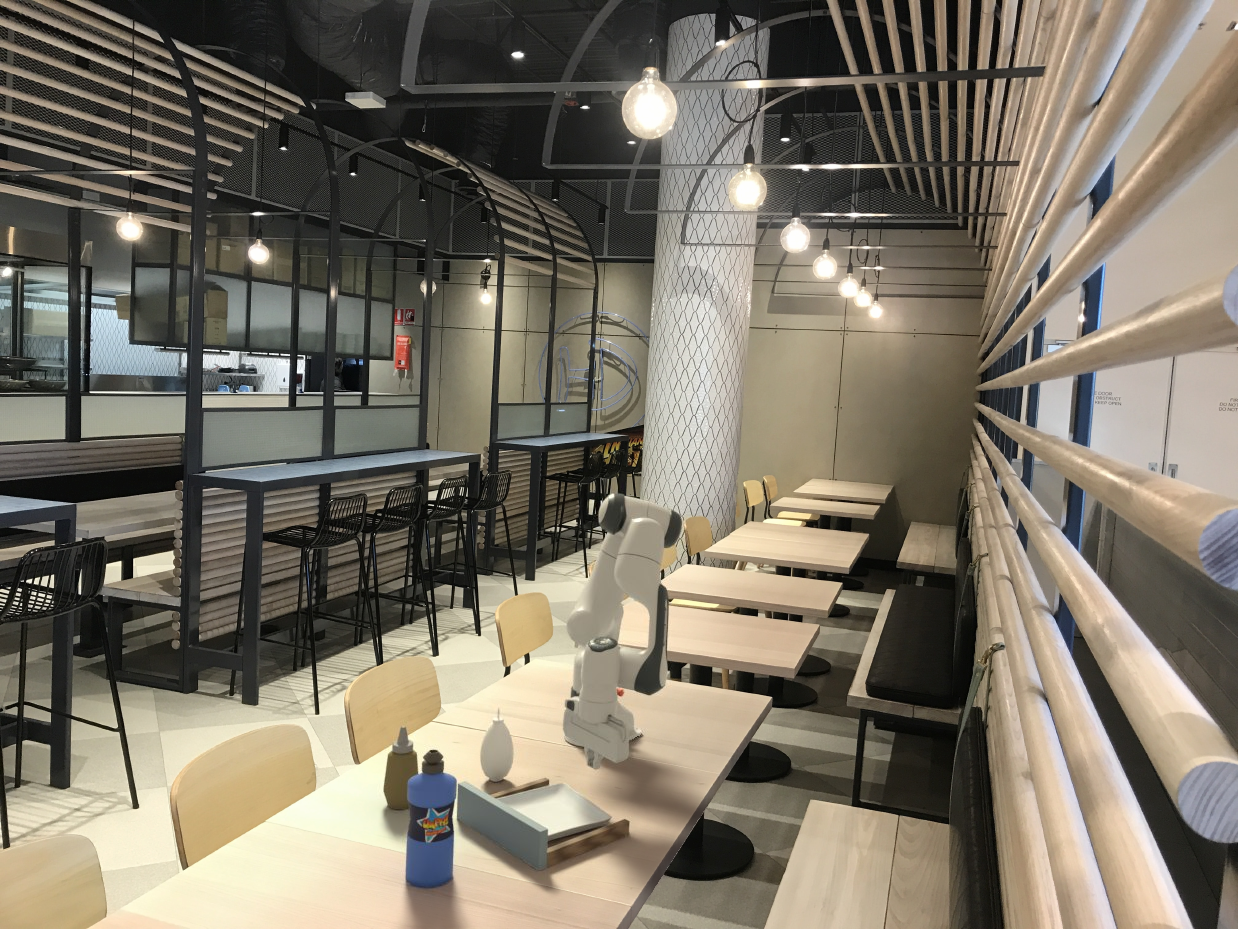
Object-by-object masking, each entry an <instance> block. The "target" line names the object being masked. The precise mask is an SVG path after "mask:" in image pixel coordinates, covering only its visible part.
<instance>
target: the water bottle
mask: <svg viewBox="0 0 1238 929" xmlns="http://www.w3.org/2000/svg"><path fill="white" fill-rule="evenodd" d="M422 759H423V761H421V773H418V775H415V776H413V777H411V778H410V779H409V780H408V790H407V799H408V804H409V808H408V813H409V815H408V816H409V822H408V827H407V832H406V849H405V850H406V851H405V853H406V854H405V880H406V883H408V884H409V885H410V886H412V887H416V888H420V889H433V888H438V887H441V886H444V885H446V884H448V883H449V882H451V880H452V879H453V875H454V874H453V872H454V852H455V851H454V848H455V847H454V846H455V829H454V819H453V817H454V816H453V815H454V811H455V810H454V809H455V802H456V799H457V792H458V780H457V778H456V777H455V776H454V775H452V774H450V773H446V772H444V771H445V761H444V760H443V759H444V755H443V754H442V753H441V751H439V750H438V749H430V750H428V751H427V752H426V753H425V754H424V755H423V756H422Z"/></svg>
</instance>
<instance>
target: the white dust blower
mask: <svg viewBox="0 0 1238 929" xmlns="http://www.w3.org/2000/svg"><path fill="white" fill-rule="evenodd" d="M509 730H510V729H509V728H508V726H507V724H506V723H505V720H504V718H502V717H500V707H499V708H497V717H493V719H492V722H491V723H490V724H489V726H488V727H487V730H486V731H485V734H484V736H483V738H482V741H481V746H480V755H479V756H480V757H479V758H480V766H481V770H482V771H483V774H484V776H486V777H487V778H488V779H489V780H490V781H492V782H496V783H498V782H500V781H502V780H503V779H504V778H506V777H507V776H508V775H509V773H510V771H511V769H512V766H513V763H514V755H515V754H514V744H513V739H512V734H511V733H510V731H509Z"/></svg>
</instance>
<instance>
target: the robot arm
mask: <svg viewBox="0 0 1238 929" xmlns="http://www.w3.org/2000/svg"><path fill="white" fill-rule="evenodd" d="M598 525H599V526H600V528H601V529H602V530H604V531H605V532H607V533H606V534H605V537H604V538H603V540H602V544H601V546H600V548H599V552H598V554H597V557H596V559H595V562H594V565H593V567H592V570H591V573H590V575H589V578H588V579H587V581H586V583H585V585H584V587H583V588H582V590H581V592H580V595H579V596H578V598H577V601H576V603H575V605H574V608H573V609H572V611H571V613H570V614H569V617H568V618H567V621H566V633H567V634H568V636H569V639H570V640H571V641H573V642H574V643H575V644H578V646H577V650H576V653H575V655H574V658H573V659H574V660H573V674H572V686H571V688H570V698H566V699H565V700H564V707H565V710H564V713H563V720H562V722H563V723H562V731H563V733H564V740H565V741H566V742H567V743H570V744H572V745H574V746H578V747H582V748H583V750H584V754H585V757H586V766H588V767H590V768H592V769H593V770H595V771H596V770H599V769H600V768H601V762H602V760H603V758H606V759H608V760H610V761H611V762H612V763H616V764H617V763H622V762H624V761H626V760H627V759H628V758H629V757H630V756H629V753H630V745H629V744H630V741H629V740H631V741H633V740H635V739H636V738H635V737H637V736H639V737H641V736H642V735H643V730H642V729H641V728H639V727H638V726H637V725H635V718H634V714H633V713H632V712H633V711H631V710H630V708H628V707H627V706H626V705H625V704H622V702H620V701H619V700H618V699H619V697H624V695H625V690H628V691H629V690H630V691H634V692H636V693H640V694H643V695H645V696H649V697H650V696H653V695H654V694H656V693H658V692H660V691H661V690H662V689H664V687H665V686H666V684H667V679H668V637H669V634H668V633H669V613H670V609H669V608H670V603H669V601H670V600H669V598H670V597H669V593H668V588H667V587H666V586H665V585H664V584H663V583H662V581H661V567H662V562H663V557H664V550H665V549H669V548H671V547H674V545H676V543H677V542H678V540H679V538H680V536H681V535H682V534H681V533H682V530H683V529H682V528H683V519H682V517H681V514H680V513H679V512H677V511H675V510H673V509H671V508H668V507H667V508H666V507H665V506H662V505H660V504H658V503H657V502H653V501H650V500H645V499H641V498H637V497H632V496H627V495H625V494H624V493H617V492H616V493H615V492H614V493H613V492H612V493H610V494H608V495H607V496H606V497H605V499H604V500H603V501H602V503H601V504H600V506H599V510H598ZM626 596H628V597H629V598H631V599H633V600H635V601H636V602H638V603H639V604H641V605H642V606H644V607H645V608H646V609H647V611H648V615H649V620H648V622H649V623H648V637H647V638H648V642H647V644H648V645H647V648H645V649H640V648H633V647H629V646H624V645H619V639H620V633H621V626H622V621H623V618H624V611H625V610H624V607H623V603H622V602H623V601H624V598H625V597H626ZM641 734H642V735H641ZM640 735H641V736H640ZM634 738H635V739H634ZM637 738H638V737H637ZM632 739H633V740H632Z"/></svg>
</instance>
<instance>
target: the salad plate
mask: <svg viewBox="0 0 1238 929" xmlns="http://www.w3.org/2000/svg"><path fill="white" fill-rule="evenodd" d="M497 800H499V801H501V802H502V803H504V804H506V805H508V806H509V807H511V808H513V809H514V810H516V811H518V812H520V813H521V814H523V815H525V816H527V817H528V818H530V819H532V820H533V821H535V822H537V823H539V824H540V825H542V826H544V827H546V828H547V829H548V842H550V841H553V840H557V839H560V838H564V837H568V836H571V835H575V834H578V833H581V832H585V831H587V830H588V831H589V830H593V829H596V828H599V827H603V826H604V825H605V824H608V822H610V821H611V819H612V816H611V815H610V814H609V813H607V812H606V811H605V810H603V809H601V808H600V806H598V805H597V804H595V803H594V802H592V801H590V800H589V799H588V798H586V797H585V796H584V795H582V794H581V793H580V792H578V791H576V789H573V787H570V786H569V785H568V784H567V783H564V782H558V783H555V784H549V786H545V787H541V788H537V789H533V790H529V791H525V792H521V793H517V794H513V795H509V796H505V797H501V798H497Z"/></svg>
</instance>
